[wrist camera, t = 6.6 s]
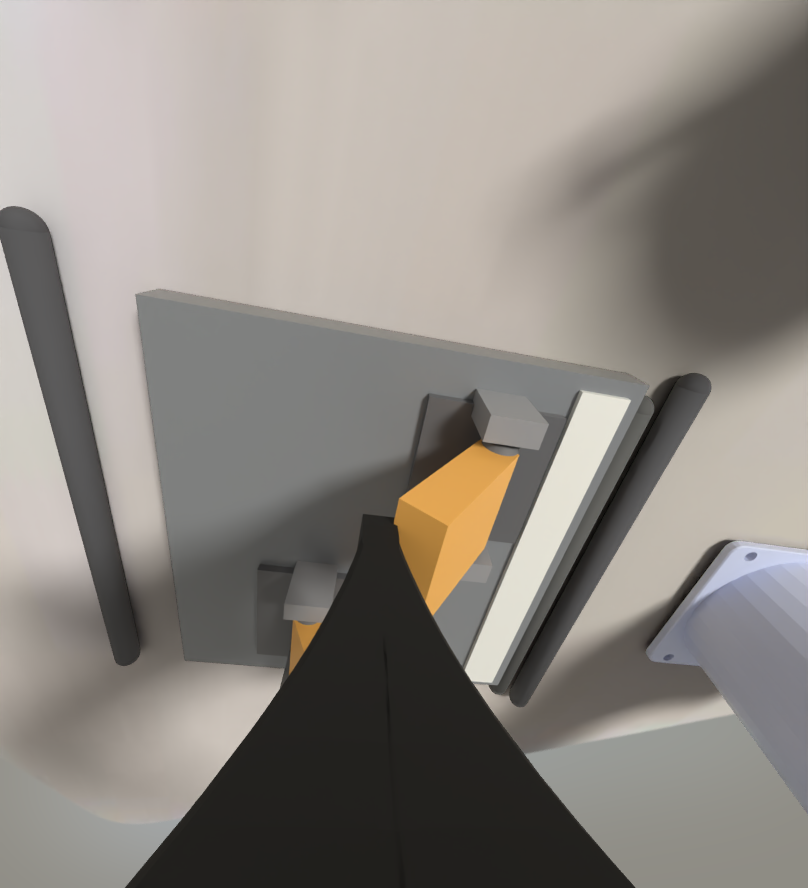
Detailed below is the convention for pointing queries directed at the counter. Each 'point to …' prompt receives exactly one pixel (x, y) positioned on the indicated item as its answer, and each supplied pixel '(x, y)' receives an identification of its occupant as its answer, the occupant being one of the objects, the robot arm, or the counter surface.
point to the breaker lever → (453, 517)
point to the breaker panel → (355, 466)
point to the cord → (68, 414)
